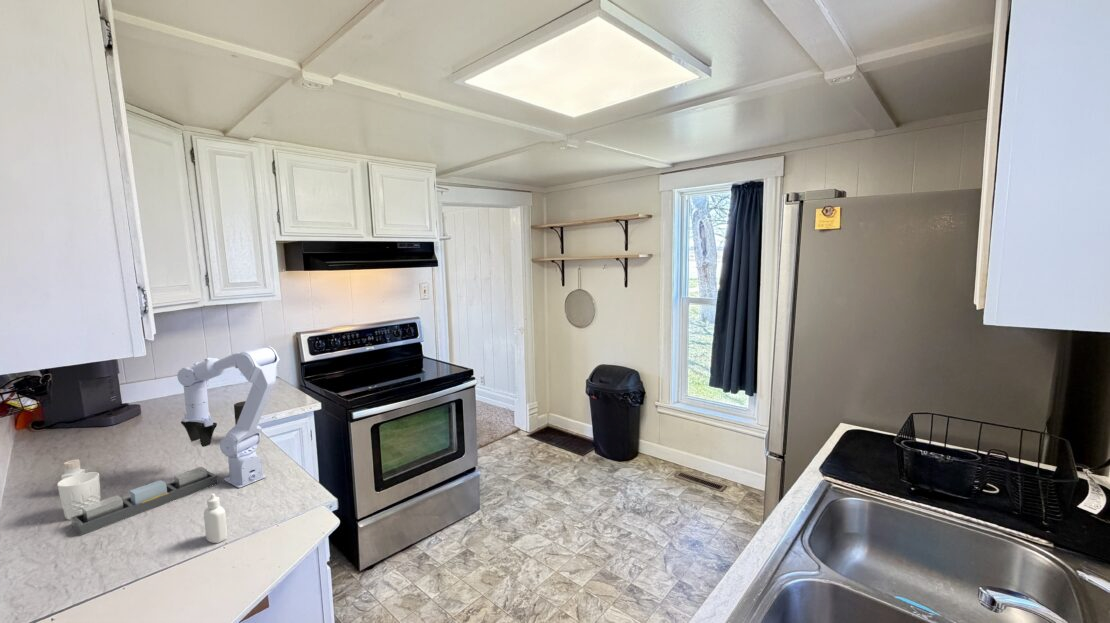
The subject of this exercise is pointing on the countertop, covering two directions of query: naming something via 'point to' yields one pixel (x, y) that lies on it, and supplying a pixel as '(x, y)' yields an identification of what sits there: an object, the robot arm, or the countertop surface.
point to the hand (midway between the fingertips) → (200, 442)
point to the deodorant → (238, 410)
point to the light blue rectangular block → (147, 492)
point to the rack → (122, 508)
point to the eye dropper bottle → (215, 521)
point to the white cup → (79, 492)
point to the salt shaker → (72, 468)
